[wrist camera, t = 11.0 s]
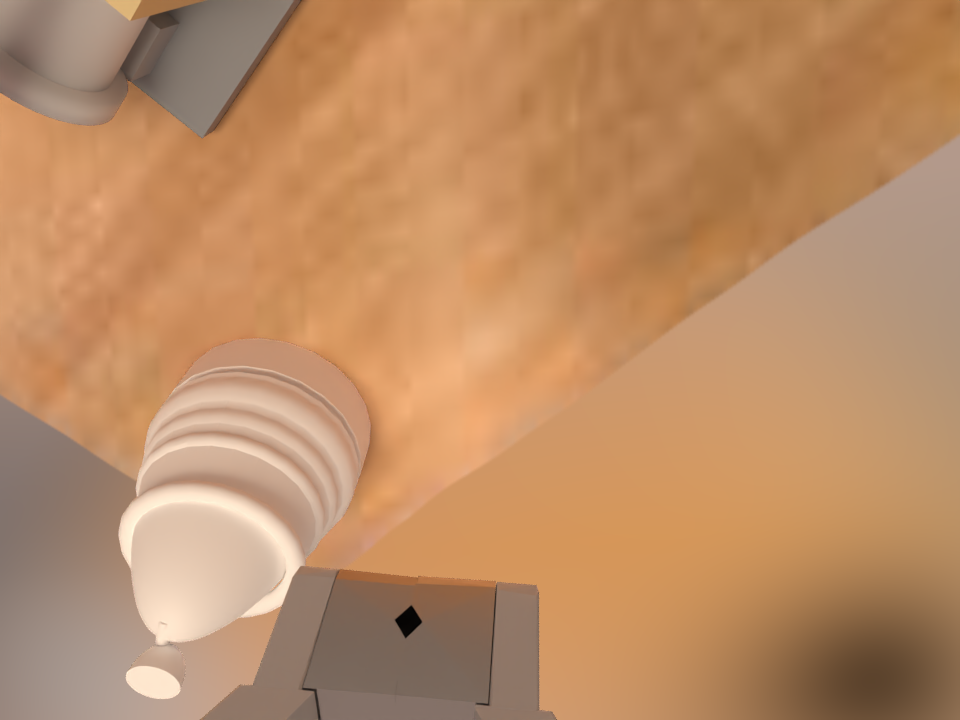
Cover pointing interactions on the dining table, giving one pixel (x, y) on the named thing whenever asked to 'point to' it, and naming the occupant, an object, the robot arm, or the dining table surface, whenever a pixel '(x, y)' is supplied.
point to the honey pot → (236, 492)
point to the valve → (134, 54)
